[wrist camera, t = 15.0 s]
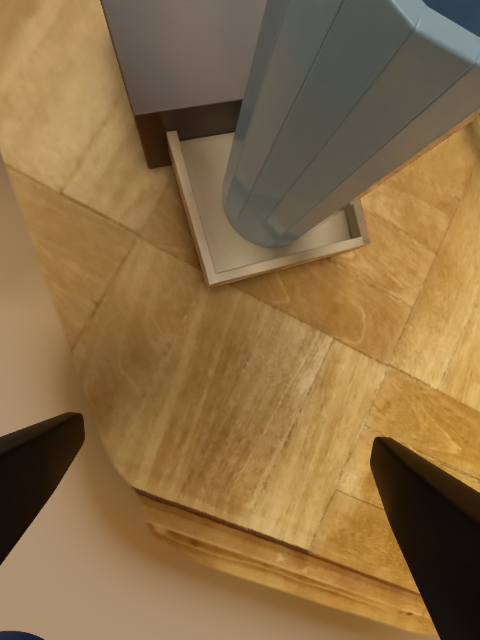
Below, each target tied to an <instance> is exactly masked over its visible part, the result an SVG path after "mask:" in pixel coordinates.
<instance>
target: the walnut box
mask: <svg viewBox="0 0 480 640" xmlns="http://www.w3.org/2000/svg"><path fill="white" fill-rule="evenodd" d="M100 1H101V5H102V8H103V12H104V15H105V19H106V22H107V26H108V29H109V33H110V36H111V40H112V43H113V47H114V50H115V54H116V57H117V61H118V64H119V67H120V71H121V74H122V78H123V81H124V85H125V88H126V92H127V95H128V99H129V102H130V106H131V109H132V113H133V116H134V120H135V123H136V127H137V130H138V133H139V137H140V140H141V144H142V147H143V151H144V154H145V158H146V161H147V165H148V168H155V167H160V166H166V165H172V166H173V170H174V173H175V177H176V180H177V184H178V188H179V191H180V195H181V198H182V202H183V205H184V209H185V212H186V216H187V220H188V223H189V227H190V230H191V234H192V237H193V241H194V244H195V248H196V251H197V255H198V259H199V262H200V266H201V269H202V273H203V276H204V280H205V283H206V287H207V289H209V288H213V287H217V286H220V285H224V284H228V283H232V282H236V281H239V280H243V279H247V278H251V277H255V276H259V275H262V274H266V273H270V272H271V273H276V272H279V271H283V270H285V269H287V268H289V267H293V266H297V265H301V264H304V263H308V262H312V261H316V260H320V259H324V258H327V257H331V256H335V255H339V254H343V253H347V252H350V251H353V250H356V249H358V248H360V247H363V246H366V245H368V244H370V239H369V235H368V230H367V226H366V222H365V218H364V214H363V209H362V205H361V201H360V199H359V200H357V201H356V202H354V203H353V204H352V205H350V206H349V207H347V208H346V209H344V210H343V211H341V212H340V213H339V214H337V215H336V216H334V217H333V218H331V219H330V220H328V221H327V222H326V223H324V224H323V225H321V226H320V227H318V228H317V229H315V230H314V231H313V232H311V233H310V234H308V235H307V236H305V237H304V238H302V239H300V240H298V241H297V242H295V243H293V244H291V245H289V246H285V247H282V248H265V247H261V246H257V245H255V244H253V243H251V242H249V241H247V240H246V239H244V238H243V237H242V236H241V235H240V234H239V233H238V232H237V231H236V230H235V229H234V228H233V226H232V225H231V223H230V222H229V220H228V218H227V216H226V213H225V210H224V207H223V201H222V185H223V180H224V176H225V172H226V168H227V163H228V159H229V155H230V151H231V147H232V143H233V139H234V134H235V130H236V126H237V122H238V118H239V114H240V109H241V105H242V101H243V97H244V93H245V89H246V85H247V80H248V76H249V72H250V68H251V64H252V60H253V55H254V51H255V47H256V43H257V39H258V35H259V30H260V26H261V22H262V18H263V14H264V10H265V6H266V1H267V0H100Z"/></svg>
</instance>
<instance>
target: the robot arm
mask: <svg viewBox="0 0 480 640" xmlns="http://www.w3.org/2000/svg"><path fill="white" fill-rule="evenodd" d="M84 440H85V431H84V420H83V416H82V414H81V413H73V412H67V413H64V414H61V415H59V416H56V417H53V418H51V419H48V420H45V421H42V422H40V423H37V424H34V425H32V426H29V427H26V428H23V429H21V430H18V431H16V432H13V433H10V434H7V435H4V436H2V437H0V565H1V564H2V562H3V561H4V560H5V558H6V557H7V556H8V554H9V553H10V552H11V550H12V549H13V547H14V546H15V545H16V543H17V542H18V541H19V539H20V538H21V536H22V535H23V534H24V532H25V531H26V530H27V528H28V527H29V526H30V524H31V523H32V521H33V520H34V519H35V517H36V516H37V515H38V513H39V512H40V510H41V509H42V508H43V506H44V505H45V504H46V502H47V501H48V499H49V498H50V497H51V495H52V494H53V492H54V491H55V489H56V488H57V486H58V484H59V483H60V481H61V479H62V478H63V476H64V474H65V473H66V471H67V470H68V468H69V466H70V465H71V463H72V461H73V460H74V458H75V456H76V455H77V453H78V451H79V449H80V448H81V447H82V445H83V442H84ZM370 467H371V470H372V473H373V476H374V479H375V482H376V485H377V488H378V491H379V494H380V497H381V500H382V503H383V506H384V509H385V512H386V515H387V518H388V521H389V523H390V526H391V528H392V531H393V533H394V535H395V538H396V540H397V542H398V544H399V547H400V549H401V551H402V553H403V556H404V558H405V560H406V562H407V565H408V567H409V569H410V571H411V574H412V576H413V578H414V581H415V583H416V585H417V587H418V590H419V592H420V594H421V596H422V599H423V601H424V603H425V605H426V608H427V610H428V612H429V614H430V617H431V619H432V621H433V623H434V626H435V628H436V630H437V632H438V635H439V637H440V639H441V640H480V493H479V492H477V491H476V490H474V489H473V488H471V487H469V486H468V485H466V484H465V483H463V482H461V481H460V480H458V479H456V478H455V477H453V476H452V475H450V474H448V473H447V472H445V471H444V470H442V469H440V468H439V467H437V466H435V465H434V464H432V463H431V462H429V461H427V460H426V459H424V458H423V457H421V456H419V455H418V454H416V453H414V452H413V451H411V450H410V449H408V448H406V447H405V446H403V445H402V444H400V443H398V442H397V441H395V440H393V439H392V438H389V437H376V438H375V439H374V441H373V447H372V452H371V458H370Z"/></svg>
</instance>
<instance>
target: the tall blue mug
mask: <svg viewBox="0 0 480 640" xmlns="http://www.w3.org/2000/svg"><path fill="white" fill-rule="evenodd" d="M479 116H480V0H267V1H266V6H265V10H264V14H263V18H262V22H261V26H260V30H259V35H258V39H257V43H256V47H255V51H254V55H253V60H252V64H251V68H250V72H249V76H248V80H247V85H246V89H245V93H244V97H243V101H242V105H241V109H240V114H239V118H238V122H237V126H236V130H235V134H234V139H233V143H232V147H231V151H230V155H229V159H228V163H227V168H226V172H225V176H224V180H223V185H222V201H223V207H224V210H225V213H226V216H227V218H228V220H229V222H230V223H231V225H232V226H233V228H234V229H235V230H236V231H237V232H238V233H239V234H240V235H241V236H242V237H243V238H244V239H246V240H247V241H249V242H251V243H253V244H255V245H257V246H261V247H265V248H282V247H285V246H289V245H291V244H293V243H295V242H297V241H298V240H300V239H302V238H304V237H305V236H307V235H308V234H310V233H311V232H313V231H314V230H315V229H317V228H318V227H320V226H321V225H323V224H324V223H326V222H327V221H328V220H330V219H331V218H333V217H334V216H336V215H337V214H339V213H340V212H341V211H343V210H344V209H346V208H347V207H349V206H350V205H352V204H353V203H354V202H356V201H357V200H359V199H360V198H362V197H363V196H365V195H366V194H368V193H369V192H370V191H372V190H373V189H375V188H376V187H378V186H379V185H381V184H382V183H383V182H385V181H386V180H388V179H389V178H391V177H392V176H394V175H395V174H396V173H398V172H399V171H401V170H402V169H404V168H405V167H407V166H408V165H409V164H411V163H412V162H414V161H415V160H417V159H418V158H420V157H421V156H422V155H424V154H425V153H427V152H428V151H430V150H431V149H433V148H434V147H436V146H437V145H438V144H440V143H441V142H443V141H444V140H446V139H447V138H449V137H450V136H451V135H453V134H454V133H456V132H457V131H459V130H460V129H462V128H463V127H464V126H466V125H467V124H469V123H470V122H472V121H473V120H475V119H476V118H477V117H479Z"/></svg>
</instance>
